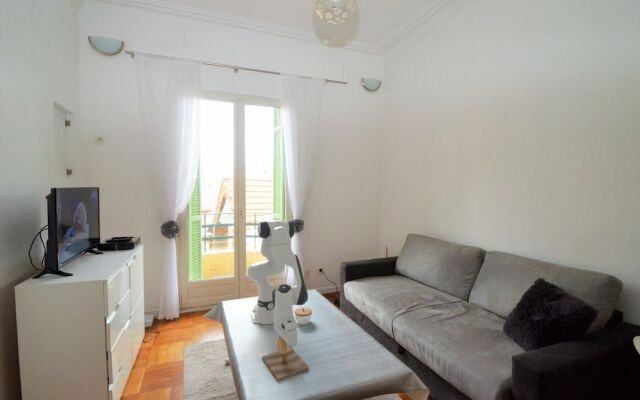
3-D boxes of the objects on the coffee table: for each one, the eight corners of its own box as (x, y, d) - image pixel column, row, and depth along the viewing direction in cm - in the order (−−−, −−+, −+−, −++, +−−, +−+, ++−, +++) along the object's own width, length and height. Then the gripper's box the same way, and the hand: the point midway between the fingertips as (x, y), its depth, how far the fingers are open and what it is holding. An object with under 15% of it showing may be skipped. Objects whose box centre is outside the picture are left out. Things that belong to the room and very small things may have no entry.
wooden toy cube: (277, 348, 148) (277, 338, 147) (287, 345, 151) (287, 335, 150) (282, 354, 143) (281, 343, 143) (292, 350, 146) (292, 340, 146)
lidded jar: (312, 319, 195) (312, 305, 194) (310, 327, 184) (310, 312, 183) (296, 318, 196) (296, 304, 195) (293, 326, 185) (293, 311, 185)
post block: (262, 359, 152) (261, 349, 151) (290, 349, 160) (290, 340, 160) (277, 382, 135) (277, 370, 134) (308, 370, 143) (308, 359, 143)
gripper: (270, 312, 153) (270, 338, 154) (287, 329, 135) (287, 358, 136) (281, 309, 156) (281, 335, 157) (299, 325, 139) (299, 354, 140)
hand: (284, 346), depth 147 cm, fingers closed on wooden toy cube, 5 cm apart
